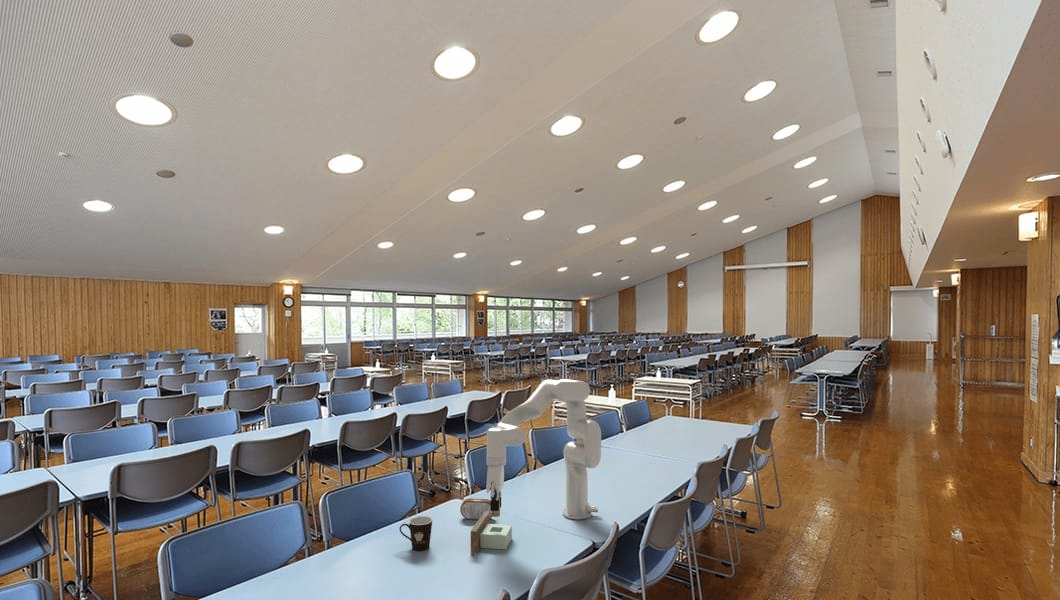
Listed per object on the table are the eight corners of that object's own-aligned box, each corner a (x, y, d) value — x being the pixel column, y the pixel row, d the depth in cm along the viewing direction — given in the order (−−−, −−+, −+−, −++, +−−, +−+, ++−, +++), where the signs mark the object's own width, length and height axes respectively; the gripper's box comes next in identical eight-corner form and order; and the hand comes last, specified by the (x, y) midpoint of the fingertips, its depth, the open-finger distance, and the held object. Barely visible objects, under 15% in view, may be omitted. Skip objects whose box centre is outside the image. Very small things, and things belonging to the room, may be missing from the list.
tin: (495, 518, 220) (495, 498, 220) (494, 521, 217) (494, 501, 217) (461, 517, 221) (461, 497, 222) (459, 520, 218) (459, 500, 219)
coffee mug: (436, 544, 194) (437, 518, 194) (423, 554, 186) (423, 526, 186) (412, 539, 198) (412, 513, 199) (397, 548, 191) (398, 521, 191)
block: (511, 538, 199) (511, 525, 199) (506, 549, 189) (506, 535, 189) (487, 536, 201) (487, 523, 201) (480, 547, 191) (480, 534, 191)
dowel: (493, 513, 197) (493, 487, 197) (500, 514, 196) (500, 488, 197) (491, 516, 194) (491, 490, 195) (498, 517, 194) (499, 490, 194)
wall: (489, 531, 206) (489, 511, 206) (475, 553, 186) (475, 531, 186) (484, 531, 206) (484, 511, 206) (470, 553, 186) (470, 531, 187)
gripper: (492, 454, 205) (491, 501, 204) (481, 465, 189) (480, 516, 188) (510, 455, 204) (509, 502, 203) (500, 466, 188) (500, 517, 187)
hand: (495, 508), depth 195 cm, fingers closed on dowel, 3 cm apart
